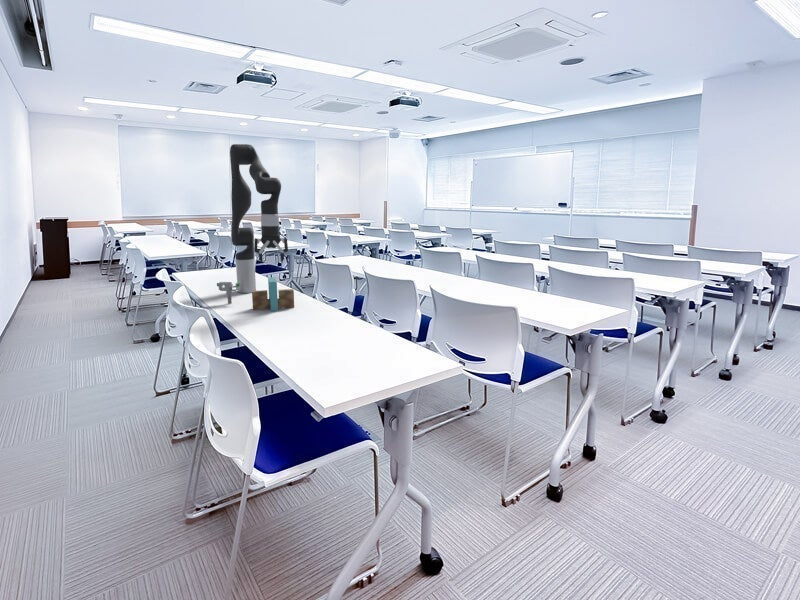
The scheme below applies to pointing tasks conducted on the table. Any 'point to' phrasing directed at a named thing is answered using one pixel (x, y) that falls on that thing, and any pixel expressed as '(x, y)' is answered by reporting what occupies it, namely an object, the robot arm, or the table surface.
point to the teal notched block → (273, 293)
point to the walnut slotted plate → (263, 302)
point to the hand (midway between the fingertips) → (271, 261)
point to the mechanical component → (228, 288)
